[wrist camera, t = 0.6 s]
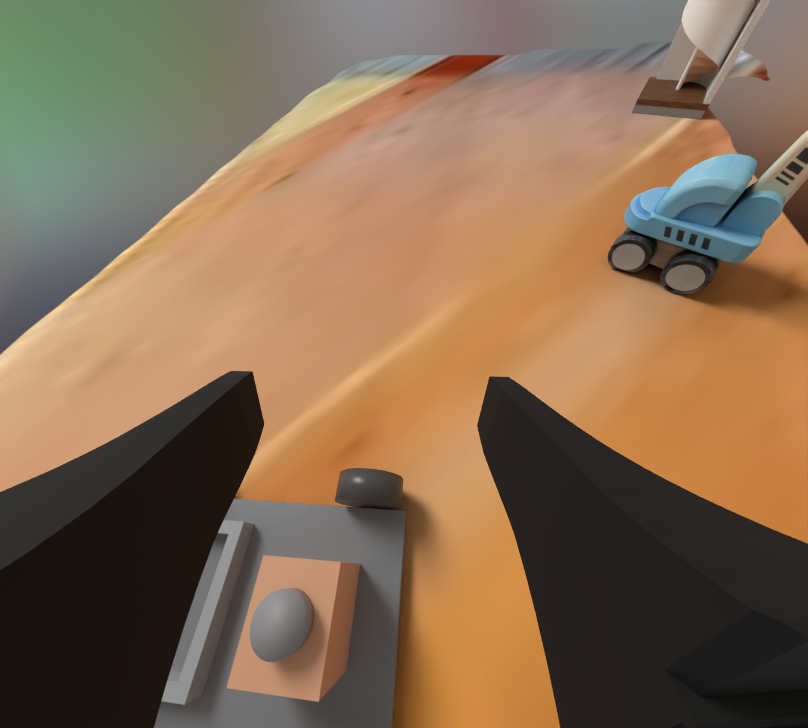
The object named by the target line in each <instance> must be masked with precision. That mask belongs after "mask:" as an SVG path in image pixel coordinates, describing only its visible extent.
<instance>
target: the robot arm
mask: <svg viewBox="0 0 808 728" xmlns="http://www.w3.org/2000/svg"><path fill="white" fill-rule="evenodd" d="M263 427H264V420H263V416H262V412H261V407H260V403H259V398H258V394H257V390H256V385H255V381H254V376H253V372H248V371H230V372H228V373H226V374H224V375H223V376H221V377H219V378H217V379H216V380H214V381H212V382H211V383H209V384H207V385H206V386H204V387H202V388H201V389H199V390H198V391H196V392H194V393H193V394H191V395H189V396H188V397H186V398H185V399H183V400H181V401H180V402H178V403H176V404H175V405H173V406H171V407H170V408H168V409H167V410H165V411H163V412H161V413H160V414H158V415H156V416H154V417H153V418H151V419H149V420H147V421H146V422H144V423H142V424H140V425H139V426H137V427H135V428H133V429H131V430H130V431H128V432H126V433H124V434H123V435H121V436H119V437H117V438H115V439H113V440H112V441H110V442H108V443H106V444H104V445H102V446H100V447H98V448H96V449H94V450H92V451H90V452H88V453H86V454H84V455H82V456H80V457H78V458H76V459H74V460H72V461H69V462H67V463H65V464H63V465H61V466H59V467H57V468H55V469H53V470H50V471H48V472H46V473H44V474H42V475H39V476H37V477H35V478H32V479H30V480H28V481H25V482H23V483H21V484H18V485H16V486H14V487H11V488H9V489H7V490H4V491H2V492H0V728H154V726H155V722H156V719H157V715H158V711H159V708H160V704H161V701H162V697H163V694H164V690H165V687H166V683H167V680H168V677H169V674H170V671H171V667H172V664H173V661H174V658H175V654H176V651H177V648H178V645H179V642H180V638H181V635H182V632H183V629H184V626H185V623H186V620H187V617H188V614H189V611H190V608H191V605H192V602H193V599H194V596H195V593H196V590H197V587H198V584H199V582H200V579H201V576H202V573H203V570H204V568H205V565H206V562H207V559H208V557H209V554H210V551H211V548H212V546H213V543H214V541H215V538H216V536H217V534H218V531H219V529H220V527H221V525H222V523H223V520H224V518H225V516H226V514H227V512H228V510H229V508H230V506H231V504H232V502H233V500H234V497H235V495H236V493H237V491H238V489H239V487H240V485H241V483H242V481H243V479H244V476H245V474H246V472H247V470H248V468H249V466H250V464H251V461H252V459H253V457H254V455H255V452H256V449H257V446H258V443H259V440H260V437H261V433H262V430H263ZM477 427H478V431H479V436H480V440H481V444H482V448H483V452H484V455H485V458H486V461H487V463H488V466H489V469H490V471H491V474H492V477H493V479H494V482H495V484H496V487H497V489H498V492H499V495H500V497H501V500H502V502H503V505H504V507H505V510H506V513H507V515H508V518H509V520H510V523H511V526H512V529H513V532H514V535H515V538H516V541H517V545H518V549H519V552H520V556H521V559H522V563H523V566H524V570H525V574H526V578H527V581H528V585H529V589H530V593H531V597H532V601H533V605H534V609H535V612H536V617H537V621H538V625H539V630H540V634H541V638H542V643H543V647H544V651H545V655H546V660H547V664H548V669H549V674H550V679H551V684H552V688H553V693H554V698H555V703H556V708H557V713H558V718H559V723H560V728H808V544H807V543H805V542H802V541H800V540H797V539H795V538H792V537H790V536H787V535H785V534H782V533H780V532H777V531H775V530H773V529H770V528H768V527H766V526H763V525H761V524H759V523H757V522H754V521H752V520H750V519H747V518H745V517H743V516H741V515H738V514H736V513H734V512H732V511H729V510H727V509H725V508H723V507H721V506H719V505H716V504H714V503H712V502H710V501H708V500H706V499H704V498H702V497H699V496H697V495H695V494H693V493H691V492H689V491H687V490H685V489H684V488H682V487H680V486H678V485H676V484H674V483H672V482H670V481H668V480H666V479H664V478H662V477H660V476H658V475H656V474H654V473H652V472H651V471H649V470H647V469H645V468H643V467H642V466H640V465H638V464H636V463H635V462H633V461H631V460H629V459H628V458H626V457H624V456H623V455H621V454H619V453H617V452H616V451H614V450H612V449H611V448H609V447H608V446H606V445H604V444H603V443H601V442H600V441H598V440H597V439H595V438H594V437H592V436H591V435H589V434H588V433H586V432H584V431H583V430H581V429H580V428H578V427H577V426H576V425H574V424H573V423H571V422H570V421H568V420H567V419H566V418H564V417H563V416H561V415H560V414H559V413H557V412H556V411H555V410H553V409H552V408H551V407H549V406H548V405H546V404H545V403H544V402H542V401H541V400H540V399H538V398H537V397H536V396H534V395H533V394H532V393H530V392H529V391H528V390H526V389H525V388H524V387H522V386H521V385H520V384H518V383H517V382H515V381H514V380H512V379H511V378H509V377H489V381H488V385H487V389H486V393H485V397H484V401H483V405H482V409H481V413H480V417H479V421H478V425H477Z"/></svg>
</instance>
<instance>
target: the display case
mask: <svg viewBox="0 0 808 728" xmlns="http://www.w3.org/2000/svg"><path fill="white" fill-rule="evenodd" d="M769 2H770V0H688V2H687V4H686V7H685V9H684V12H683V15H682V22H681V24H680V26H679V29H678V31H677V33H676V35H675V38H674V40H673V42H672V44H671V46H670V49H669V51H668V53H667V55H666V58H665V60H664V62H663V64H662V67H661V69H660V71H659V73H658V76H657V78H654V77H650V78H649V80H648V82H647V83H646V85H645V87H644V89H643V91H642V92H641V94H640V96H639V98H638V100H637V102H636V104H635V107H634V109H633V112H632V113H641V114H652V115H662V116H672V117H682V118H692V119H701V118H702V116H703V115H704V113H705V111H706V110H707V108H708V106H709V104H710V103H711V101H712V99H713V98H714V96H715V94H716V92H717V91H718V89H719V87H720V85H721V84H722V82H723V80H724V79H725V77H726V75H727V74H728V72H729V70H730V69H731V67H732V65H733V63H734V62H735V60H736V58H737V57H738V55H739V53H740V51H741V50H742V48H743V46H744V44H745V43H746V41H747V39H748V38H749V36H750V34H751V33H752V31H753V29H754V28H755V26H756V24H757V22H758V21H759V19H760V17H761V16H762V14H763V12H764V10H765V9H766V7H767V5H768V4H769Z"/></svg>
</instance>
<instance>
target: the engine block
mask: <svg viewBox="0 0 808 728" xmlns="http://www.w3.org/2000/svg"><path fill="white" fill-rule="evenodd" d="M359 569H360V564H358V563H348V562H337V561H326V560H315V559H304V558H293V557H281V556H269V555H263V558H262V562H261V565H260V569H259V572H258V576H257V580H256V583H255V587H254V590H253V594H252V598H251V601H250V605H249V608H248V612H247V616H246V619H245V623H244V626H243V630H242V633H241V637H240V641H239V644H238V648H237V651H236V655H235V659H234V662H233V666H232V669H231V673H230V677H229V680H228V684H227V687H226V688H229V689H236V690H243V691H249V692H256V693H263V694H270V695H276V696H283V697H290V698H297V699H303V700H310V701H317V702H319V701H320V700H321V698H322V697H323V696H324V695H325V694H326V693H327V692H328V691H329V690H330V688H331V687H332V686H333V685H334V684H335V683H336V682H337V681H338V679H339V678H340V677H341V676H342V675H343V674H344V673H345V672H346V669H347V661H348V653H349V646H350V638H351V630H352V622H353V615H354V607H355V599H356V592H357V584H358V576H359Z"/></svg>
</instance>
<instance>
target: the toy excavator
mask: <svg viewBox="0 0 808 728" xmlns="http://www.w3.org/2000/svg"><path fill="white" fill-rule="evenodd" d="M756 167H757V162H756V160H755V159H753V158H752V157H750V156H746V155H740V154H727V155H721V156H716V157H713V158H710V159H707V160H705V161H703V162H701V163H699V164H697V165H695V166H693V167H692V168H690V169H689V170H687V171H686V172H685V173H684V174H682V175H681V176H680V177H679V178H678V179H677V180H676V182H675V183H674V184H673V185H672V187H657V188H653V189H650V190H647V191H646V192H643V193H640V194H638V195H637V196H635V197H634V198H633V200H632V201H631V203H630V205H629V206H628V208H627V210H626V212H625V215H624V220H625V223H626V224H627V227H626V228H625V230H624V232H623V234H622V235H620V236H619V237H618V238H617V239H616V241H615V243H614V244H613V245H612V247H611V249H610V251H609V253H608V262H609V264H610V265H611V266H612V267H613V269H621V270H625V271H628V272H637V271H640V270H642V269H644V268H645V267H646V266H647V265H648V264H652V265H655V266H657V267H660V268H662V269H663V270H662V272H661V275H660V281H661V283H662V285H663V287H665V285H668V286H669V287H671V288H672V289H673V290H672V291H670V292H672V293H676V294H683V295H685V294H692V293H696V292H698V291H701V290H702V289H704V288H705V287H706V286H707V285H708V284H709V283H710V282H711V281H712V280H713V278H714V276H715V274H716V272H717V269H718V266H719V265H720V264H721V263H722V261H726V262H730V263H741V262H743V261H744V260H745V259H746V258H747V257H748V256H749V255H750V254H751V253H752V252H753V251H754V250H755V249H756V248H757V247H758V246H759V245H760V242H761V240H762V237H763V235H764V233H765V230H766V229H767V228H768V227H770V226H771V225H772V223H773V222H774V221H775V220H776V219H777V218H778V217H779V216H780V214H781V212H782V210H783V207H784V205H785V204H786V202H787V201H788V200H789V199H790V198H791V196H792V195H793V194H794V193H795V192H796V190H797V189H798V188H799V187H800V186H801V185H802V184H803V183H804V182H805V180H806V179H807V178H808V130H807V131H806V132H805V133H804V134H803V135H802V136H801V137H800V138H799V139H798V140H797V141H796V142H795V143H794V144H793V145H792V146H791V147H790V148H789V149H788V150H787V151H786V152H785V153H784V154H783V155H782V156H781V157H780V158H779V159H778V160H777V161H776V162H775V163H774V164H773V165H772V166H771V167H770V168H769V169H768V170H767V171H766V172H765V173H764V174H763V175H762V176H761V178H760V179H758V180H757V182H756V183H754V184H752V185H751V186H749V187H748V188H746V187H747V185H748V184H749V182H750V180H751V179H752V176H753V174H754V172H755V169H756Z"/></svg>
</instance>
